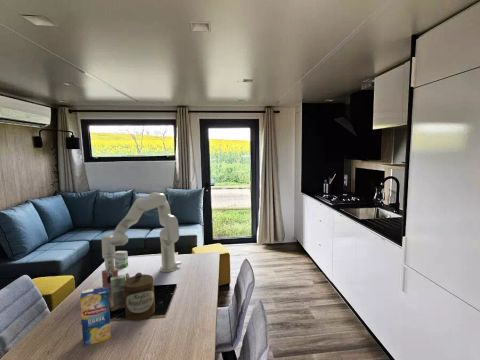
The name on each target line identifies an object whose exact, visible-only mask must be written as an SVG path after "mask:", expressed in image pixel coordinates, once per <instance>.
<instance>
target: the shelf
mask: <svg viewBox="0 0 480 360" xmlns="http://www.w3.org/2000/svg"><path fill="white" fill-rule="evenodd" d="M128 278H130V274H129V272H128V273H125V274H120V275H118V276H115V277H111V288H110V289H109V308H110V312H114V311H117V310H121V309H123V308H124V309H125V290H124V282H125V281H126V280H127V279H128Z"/></svg>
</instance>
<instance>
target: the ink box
mask: <svg viewBox="0 0 480 360" xmlns="http://www.w3.org/2000/svg"><path fill="white" fill-rule="evenodd" d="M128 256H129V255H128V251H127V250H117V251H115V256H114V268H117V269H118V268H122V269H123V268H127V267H128V266H129V260H128V258H129V257H128Z"/></svg>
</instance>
